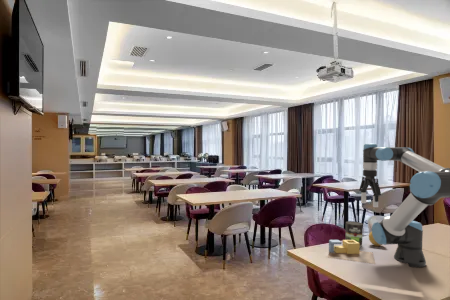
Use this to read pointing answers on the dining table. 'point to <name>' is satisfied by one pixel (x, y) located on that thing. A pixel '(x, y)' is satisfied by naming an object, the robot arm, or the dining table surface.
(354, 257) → the board
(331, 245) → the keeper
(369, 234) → the stress ball
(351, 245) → the link
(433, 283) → the dining table surface
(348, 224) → the coffee can
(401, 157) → the robot arm
